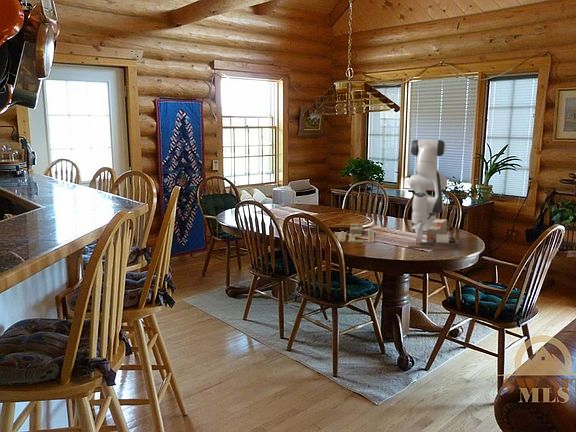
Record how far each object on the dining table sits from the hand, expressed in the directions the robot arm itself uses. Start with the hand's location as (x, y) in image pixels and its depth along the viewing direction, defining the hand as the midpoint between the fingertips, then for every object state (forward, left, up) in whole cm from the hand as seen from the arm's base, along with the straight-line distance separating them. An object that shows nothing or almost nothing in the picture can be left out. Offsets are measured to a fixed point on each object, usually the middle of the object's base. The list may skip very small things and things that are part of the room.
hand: (418, 241), depth 305 cm
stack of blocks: (-17, +12, -3) cm, 21 cm away
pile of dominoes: (-20, -41, -3) cm, 46 cm away
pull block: (0, +8, -1) cm, 8 cm away
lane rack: (0, +8, -3) cm, 9 cm away
